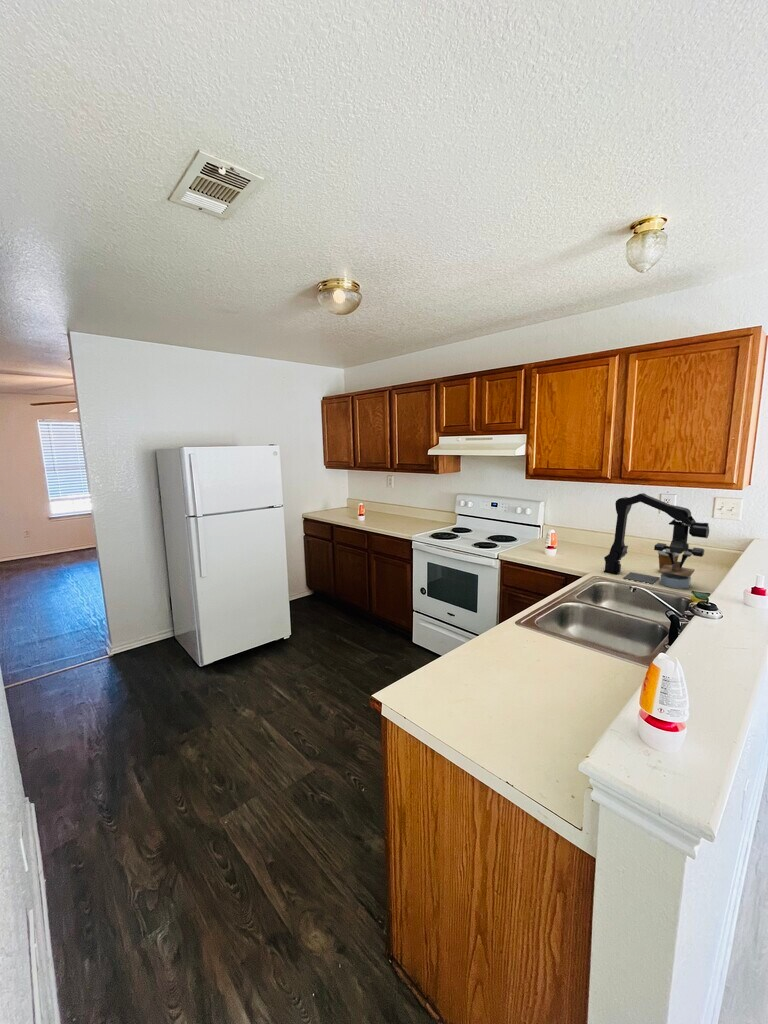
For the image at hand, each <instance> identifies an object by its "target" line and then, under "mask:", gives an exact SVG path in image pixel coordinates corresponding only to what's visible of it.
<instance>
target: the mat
mask: <svg viewBox="0 0 768 1024" xmlns="http://www.w3.org/2000/svg"><path fill="white" fill-rule="evenodd" d="M659 578H660V579H661V576H660V577H659V576H656V575H655V576H654V575H649V574H644V573H643V574H642V573H637V572H632V571H630V572H629V573H627V574H626V575H625V576H623V577H622V579H623V580H626V579H628V580H627V581H631V580H634V581H633V582H637V581H640V582H639V583H642V582H645V583H644V584H647V583H649V584H648V585H653V584H654V583H655V582H656V581H657V580H658V579H659ZM660 579H659V580H660ZM659 580H658V581H659ZM658 581H657V582H658ZM657 582H656V583H657ZM656 583H655V584H656ZM655 584H654V585H655Z"/></svg>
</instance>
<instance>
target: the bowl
mask: <svg viewBox="0 0 768 1024" xmlns="http://www.w3.org/2000/svg"><path fill="white" fill-rule="evenodd" d="M691 581H692V577H691V576H690V577H687V576H681V575H675V574H669V573H660V583H659V584H661V585H663V586H665V585H666V586H665V587H668V586H669V587H668V588H672V587H673V589H679V588H686V589H689V588H690V586H691Z"/></svg>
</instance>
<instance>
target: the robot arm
mask: <svg viewBox="0 0 768 1024" xmlns="http://www.w3.org/2000/svg"><path fill="white" fill-rule="evenodd" d="M638 503H642V504H644V505H647V506H649V507H651V508H654V509H657V510H659V511H661V512H664V513H665V514H666V515H668V516H669V517H670V518H673V519H672V520H671V521H670V522H669V523H668V525H671V526H673V528H672V529H673V530H672V537H671V539H672V540H671V542H670V544H669V546H668V545H667V543H663V542H662V543H661V542H657V543H656V544H654V546H653V548H654V549H653V550H654V551H656V552H658V551H663V550H666V552H665V553H666V554H668V555H669V557H670V559H671V563H672V565H673V564H674V563H675V553H678V554H680V555H681V554H682V556H681V560H680V562H681V564H680V568H681V567H683V565H684V564H685V562H686V560H687V558H688V557H689V558H690V557H691V556H695V557H701V558H702V557H704V555H705V549H704V548H699V547H693V548H689V547H690V545H689V543H688V536H689V535H691V537H693V538H702V539H708V538H709V536H710V535H709V534H710V526H709V523H708V522H697V521H696V520H695V519H694V517H693V516H692V512H691V510H690V509H689V508H687V507H683V506H679V505H673V504H670V503H667V502H666V501H662V500H660V499H658V498H655V497H653V496H650V495H647V494H646V493H643V492H642V493H638V494H637V495H633V496H630V497H628V496H626V497H625V496H624V497H619V498H618V499H617V500H615V504H614V505H615V511H616V514H617V515H616V524H615V532H614V541H613V542H612V545H611V547H610V549H609V552H608V553H607V555H605V556H604V562H605V563H604V570H603V573H607V574H613V575H618V574H619V573H621V571H622V564H621V560H622V558H624V557H625V556H626V555H627V554H628V548H629V546H628V545H626V544H625V536H626V530H627V529H626V527H627V522H628V514H629V513H630V511H631V509H632V507H633V505H635V504H638Z"/></svg>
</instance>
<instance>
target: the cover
mask: <svg viewBox="0 0 768 1024" xmlns="http://www.w3.org/2000/svg"><path fill="white" fill-rule="evenodd" d="M680 564H681V561H678V560H677V561H676V562H675V563H674V564H673V565H672V566H671V565H664V566H662V567H661V568H660V569H658V572H659V573H660V572H663V573H669V574H675V575H681V576H687V577H691V576H692V575H693V574H694V572H695V568H689V567H683V566H682V567H681V568H680Z"/></svg>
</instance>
